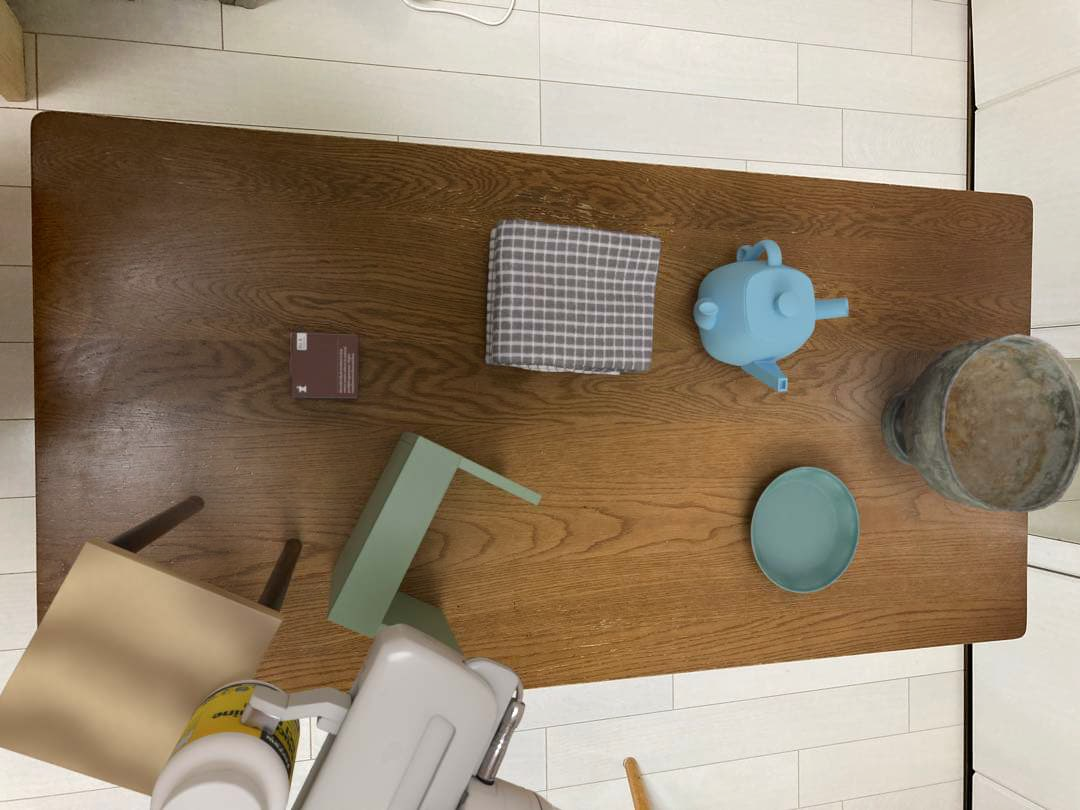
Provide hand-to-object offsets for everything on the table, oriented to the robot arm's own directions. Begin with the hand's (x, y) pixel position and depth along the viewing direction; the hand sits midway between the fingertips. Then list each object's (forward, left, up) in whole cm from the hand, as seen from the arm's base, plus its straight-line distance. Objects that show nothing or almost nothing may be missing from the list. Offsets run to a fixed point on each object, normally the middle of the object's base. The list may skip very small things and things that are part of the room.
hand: (210, 774), depth 36 cm
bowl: (+49, -60, -36) cm, 85 cm away
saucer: (+30, -50, -36) cm, 68 cm away
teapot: (+48, -32, -36) cm, 68 cm away
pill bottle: (0, -1, -6) cm, 6 cm away
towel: (+40, -13, -36) cm, 55 cm away
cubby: (+12, -10, -35) cm, 39 cm away
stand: (0, +6, -9) cm, 11 cm away
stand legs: (0, +6, -36) cm, 36 cm away
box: (+22, +6, -36) cm, 42 cm away
